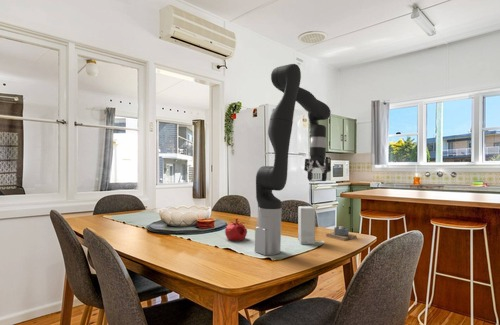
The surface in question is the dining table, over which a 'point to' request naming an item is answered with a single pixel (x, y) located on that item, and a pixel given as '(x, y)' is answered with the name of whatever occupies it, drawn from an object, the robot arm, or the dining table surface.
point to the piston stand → (350, 236)
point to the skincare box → (306, 224)
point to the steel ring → (341, 231)
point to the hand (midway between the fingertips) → (316, 180)
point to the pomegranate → (235, 231)
